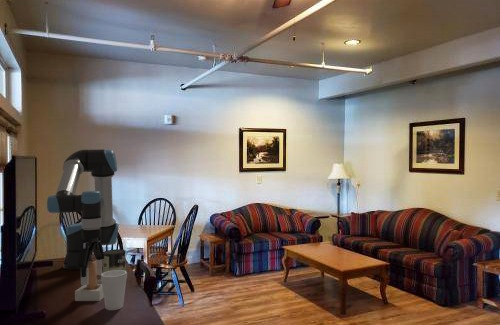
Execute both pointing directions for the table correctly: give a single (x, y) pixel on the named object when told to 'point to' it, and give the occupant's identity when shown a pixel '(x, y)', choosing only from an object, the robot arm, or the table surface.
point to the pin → (92, 275)
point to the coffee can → (114, 260)
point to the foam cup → (114, 288)
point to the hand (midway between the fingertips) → (91, 279)
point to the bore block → (89, 293)
